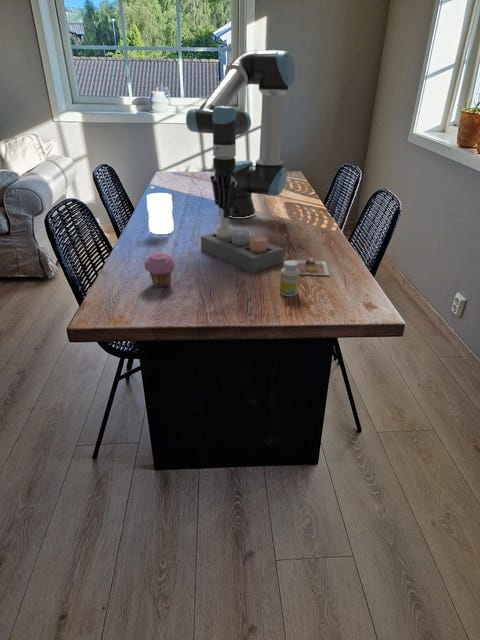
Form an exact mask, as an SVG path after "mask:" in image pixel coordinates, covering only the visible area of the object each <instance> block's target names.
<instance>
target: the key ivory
mask: <svg viewBox="0 0 480 640" xmlns="http://www.w3.org/2000/svg"><path fill="white" fill-rule="evenodd" d="M233 228H234V227H233V225H232V224H229V226H226V227H221V226H220V224H217V225H216V226H215V233H216V238H218V239H221V240H227V239H231V238H232V232H233V230H234V229H233Z"/></svg>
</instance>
